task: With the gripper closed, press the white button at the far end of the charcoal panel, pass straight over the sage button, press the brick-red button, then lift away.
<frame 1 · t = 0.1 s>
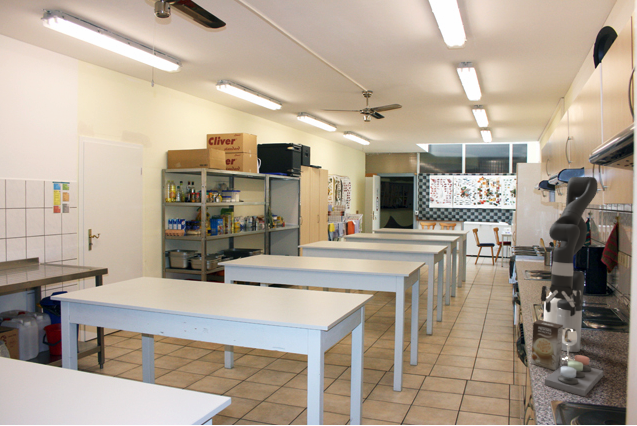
hand: (560, 313, 180), 17 cm above the kitchen counter, tool pointing down, fingers open, 8 cm apart
brick button: (581, 360, 163), point 5 cm above the kitchen counter, slide at 0.0 cm
white bottle: (558, 335, 210), on the kitchen counter
sage button: (575, 365, 157), point 5 cm above the kitchen counter, slide at 0.0 cm
white button: (568, 371, 151), point 5 cm above the kitchen counter, slide at 0.0 cm
wineglass: (567, 359, 178), on the kitchen counter
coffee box: (545, 365, 171), on the kitchen counter
panel: (574, 380, 157), on the kitchen counter
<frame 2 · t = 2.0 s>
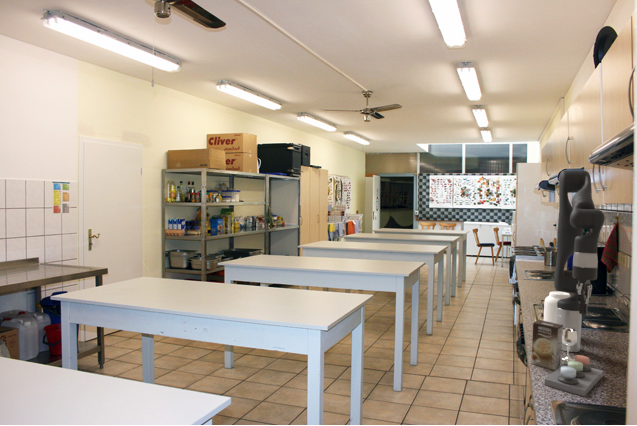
hand: (583, 313, 160), 23 cm above the kitchen counter, tool pointing down, fingers closed
nothing on the kitchen counter moved.
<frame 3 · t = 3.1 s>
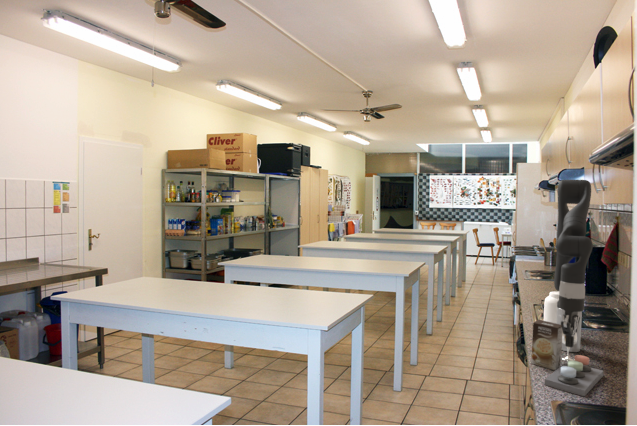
hand: (569, 346, 151), 14 cm above the kitchen counter, tool pointing down, fingers closed
nothing on the kitchen counter moved.
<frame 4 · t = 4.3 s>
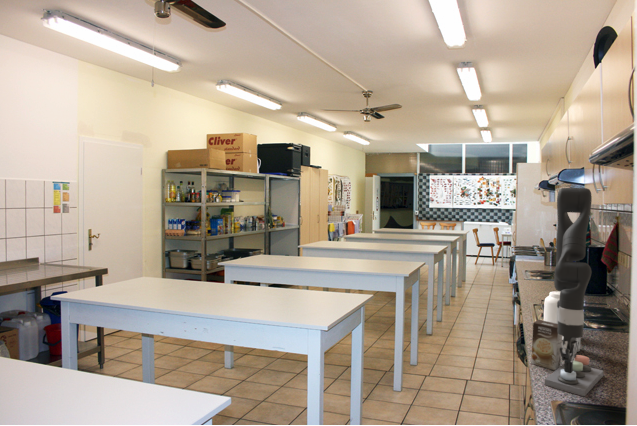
hand: (568, 371, 151), 5 cm above the kitchen counter, tool pointing down, fingers closed
white button: (568, 374, 151), point 4 cm above the kitchen counter, slide at 1.0 cm, touching gripper
everything else where it was.
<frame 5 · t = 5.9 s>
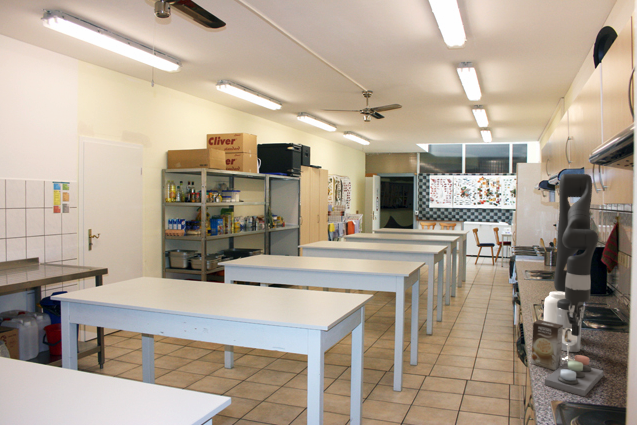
hand: (575, 335, 157), 16 cm above the kitchen counter, tool pointing down, fingers closed
white button: (568, 374, 151), point 4 cm above the kitchen counter, slide at 1.0 cm
everything else where it was.
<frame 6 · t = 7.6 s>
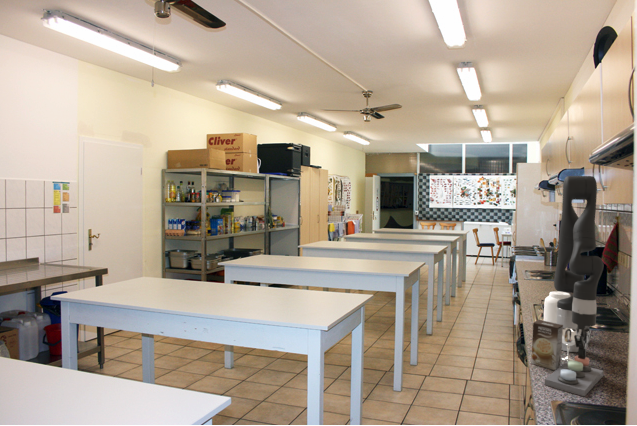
hand: (581, 358, 162), 6 cm above the kitchen counter, tool pointing down, fingers closed
brick button: (581, 360, 163), point 5 cm above the kitchen counter, slide at 0.3 cm, touching gripper
everything else where it was.
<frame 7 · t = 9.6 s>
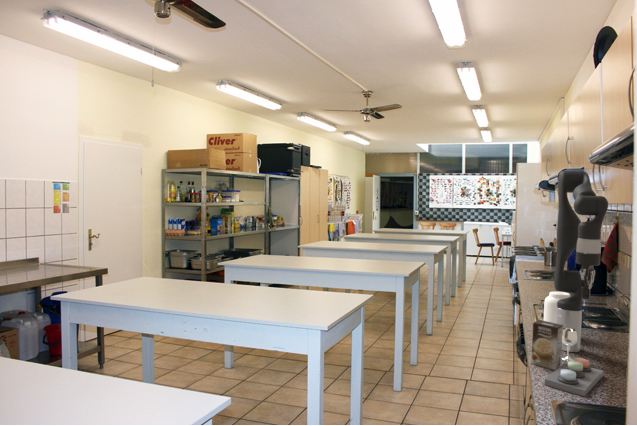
hand: (586, 298, 163), 27 cm above the kitchen counter, tool pointing down, fingers closed
brick button: (581, 363, 163), point 4 cm above the kitchen counter, slide at 1.1 cm
everything else where it was.
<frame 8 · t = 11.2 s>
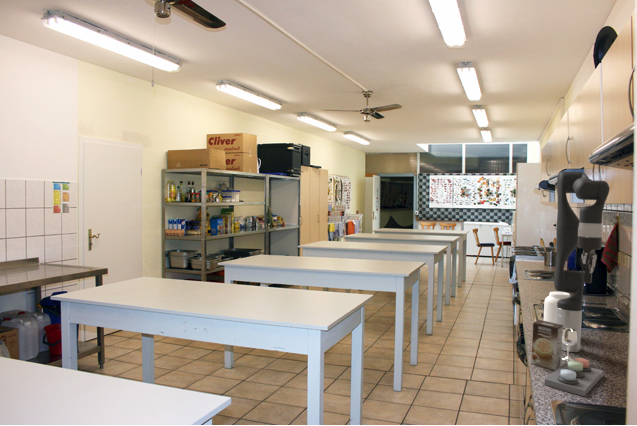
hand: (587, 282, 164), 33 cm above the kitchen counter, tool pointing down, fingers closed
nothing on the kitchen counter moved.
at the end: white button slide at 1.0 cm; brick button slide at 1.1 cm; sage button slide at 0.0 cm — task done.
